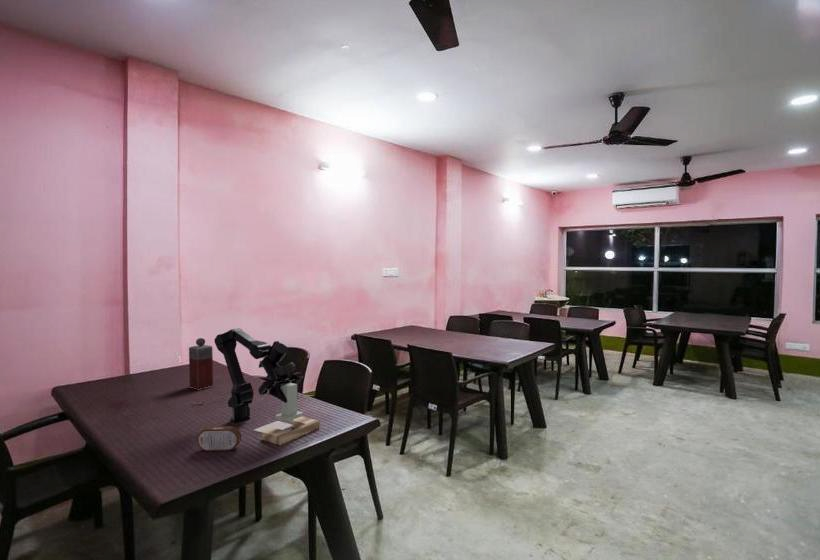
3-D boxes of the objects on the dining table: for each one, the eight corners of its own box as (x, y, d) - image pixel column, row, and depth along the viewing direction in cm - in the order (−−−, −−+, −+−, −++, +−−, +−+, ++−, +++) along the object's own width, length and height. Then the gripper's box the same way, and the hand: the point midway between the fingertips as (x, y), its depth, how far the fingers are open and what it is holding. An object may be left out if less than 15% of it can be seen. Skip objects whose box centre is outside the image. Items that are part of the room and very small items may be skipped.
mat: (253, 430, 167) (253, 429, 167) (277, 421, 178) (277, 420, 178) (269, 435, 162) (269, 434, 162) (293, 426, 172) (293, 425, 172)
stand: (262, 439, 158) (262, 431, 158) (301, 423, 175) (301, 416, 175) (280, 445, 153) (280, 437, 153) (319, 428, 170) (319, 420, 169)
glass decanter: (202, 383, 241) (201, 336, 241) (213, 386, 235) (212, 337, 234) (187, 387, 234) (186, 338, 233) (197, 390, 227) (196, 339, 227)
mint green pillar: (275, 417, 163) (275, 386, 163) (291, 411, 170) (291, 381, 169) (287, 420, 159) (287, 388, 159) (303, 414, 166) (303, 383, 166)
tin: (241, 447, 151) (241, 424, 151) (238, 451, 148) (238, 428, 148) (200, 448, 151) (199, 425, 151) (196, 452, 148) (195, 429, 148)
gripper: (262, 361, 158) (282, 394, 153) (299, 352, 174) (319, 382, 168) (250, 378, 163) (268, 411, 157) (287, 369, 178) (305, 398, 173)
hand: (291, 400), depth 164 cm, fingers closed on mint green pillar, 5 cm apart
